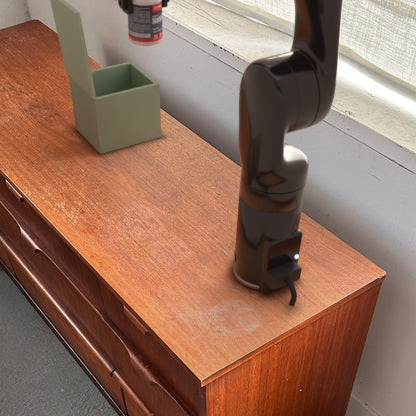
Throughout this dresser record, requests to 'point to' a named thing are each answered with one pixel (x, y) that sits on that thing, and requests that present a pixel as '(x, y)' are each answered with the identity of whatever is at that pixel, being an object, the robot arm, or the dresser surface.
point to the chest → (118, 108)
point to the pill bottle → (145, 22)
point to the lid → (73, 44)
